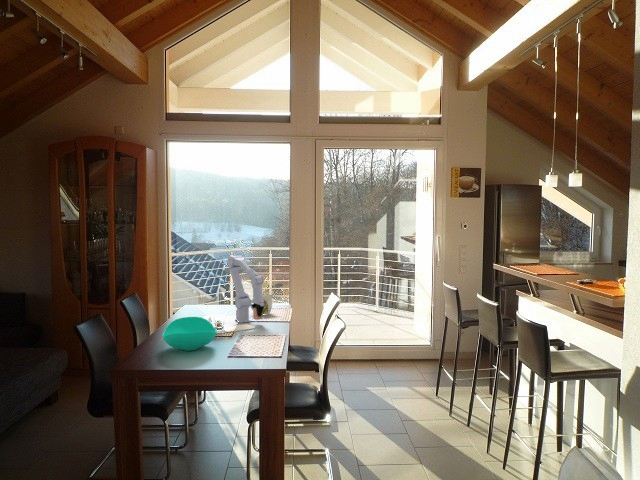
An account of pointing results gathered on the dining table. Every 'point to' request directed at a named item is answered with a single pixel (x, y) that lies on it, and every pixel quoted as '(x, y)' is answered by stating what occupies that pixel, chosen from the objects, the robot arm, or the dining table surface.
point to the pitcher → (266, 303)
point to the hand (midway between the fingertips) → (257, 315)
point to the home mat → (243, 327)
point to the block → (256, 314)
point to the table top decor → (189, 333)
